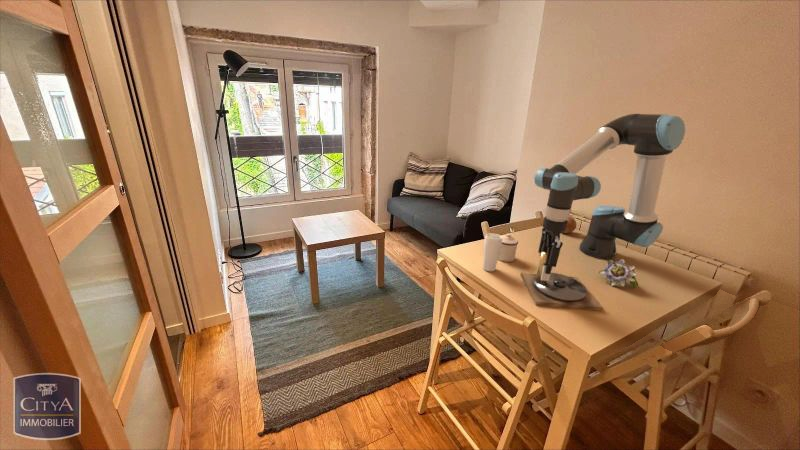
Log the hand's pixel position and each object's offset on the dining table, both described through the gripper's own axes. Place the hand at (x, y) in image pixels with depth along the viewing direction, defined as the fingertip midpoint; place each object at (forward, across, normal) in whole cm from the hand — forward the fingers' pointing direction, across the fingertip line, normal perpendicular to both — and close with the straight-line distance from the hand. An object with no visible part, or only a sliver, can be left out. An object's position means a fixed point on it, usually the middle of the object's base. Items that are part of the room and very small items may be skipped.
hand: (542, 276), depth 116 cm
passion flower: (+6, +10, -33) cm, 35 cm away
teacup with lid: (+6, +26, +9) cm, 28 cm away
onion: (+7, +63, -33) cm, 72 cm away
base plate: (+6, -1, -6) cm, 8 cm away
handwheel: (+4, -1, -6) cm, 7 cm away
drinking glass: (+6, +13, +17) cm, 22 cm away
